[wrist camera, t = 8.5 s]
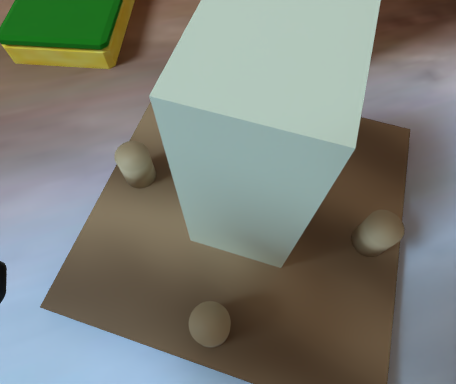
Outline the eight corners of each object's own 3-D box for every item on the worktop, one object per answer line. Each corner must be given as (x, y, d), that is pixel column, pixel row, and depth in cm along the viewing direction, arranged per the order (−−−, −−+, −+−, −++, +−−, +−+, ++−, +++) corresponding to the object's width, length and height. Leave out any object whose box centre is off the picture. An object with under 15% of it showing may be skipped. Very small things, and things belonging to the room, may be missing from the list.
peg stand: (372, 425, 14) (408, 441, 11) (50, 310, 16) (14, 300, 13) (402, 139, 20) (428, 106, 18) (169, 81, 22) (162, 43, 19)
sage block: (280, 268, 16) (355, 148, 7) (190, 240, 16) (149, 96, 7) (302, 178, 18) (381, -3, 9) (221, 156, 18) (219, -34, 10)
